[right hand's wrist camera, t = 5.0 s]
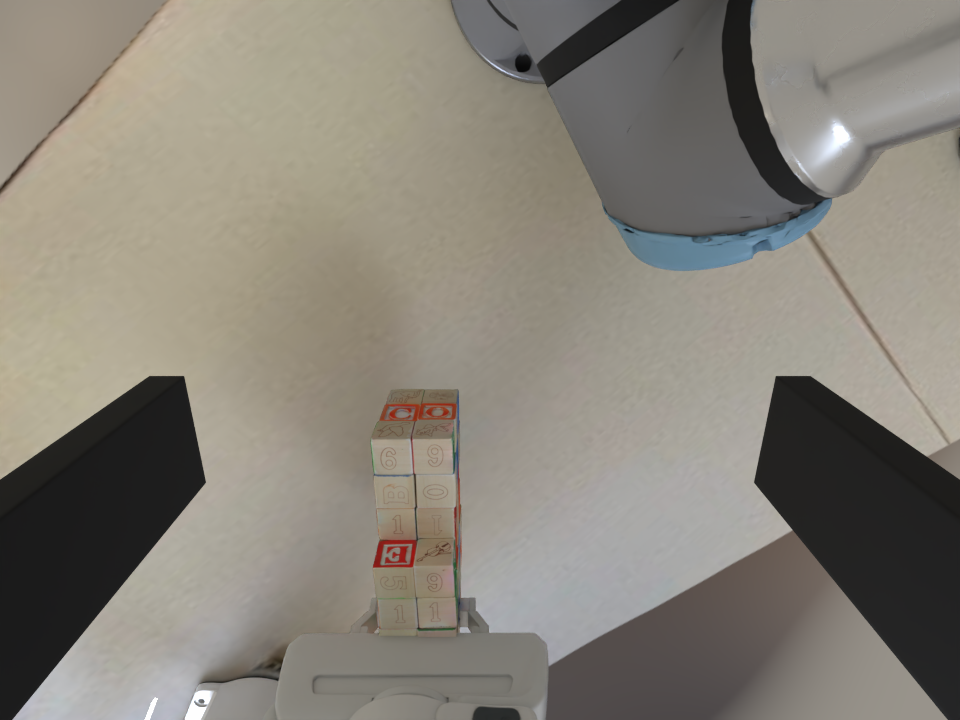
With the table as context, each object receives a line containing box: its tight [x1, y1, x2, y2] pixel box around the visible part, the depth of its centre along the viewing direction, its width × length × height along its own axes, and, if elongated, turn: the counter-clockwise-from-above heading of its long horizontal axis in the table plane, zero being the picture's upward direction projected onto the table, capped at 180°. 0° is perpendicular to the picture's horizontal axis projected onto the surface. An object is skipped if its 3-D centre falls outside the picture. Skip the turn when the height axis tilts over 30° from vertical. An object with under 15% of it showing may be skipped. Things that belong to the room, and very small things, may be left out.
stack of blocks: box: [371, 389, 462, 637], centre depth 47 cm, size 21×6×12 cm, turn 0°
